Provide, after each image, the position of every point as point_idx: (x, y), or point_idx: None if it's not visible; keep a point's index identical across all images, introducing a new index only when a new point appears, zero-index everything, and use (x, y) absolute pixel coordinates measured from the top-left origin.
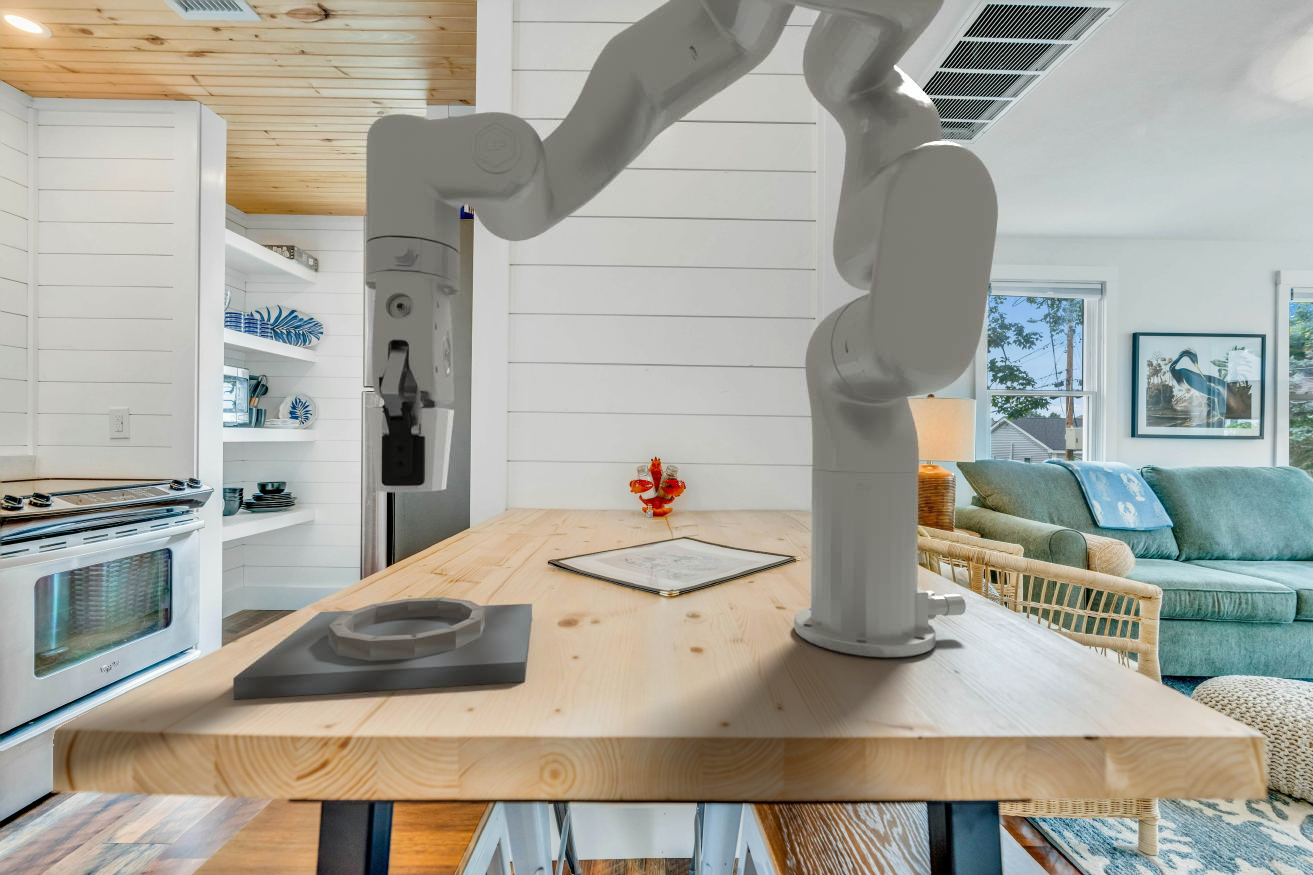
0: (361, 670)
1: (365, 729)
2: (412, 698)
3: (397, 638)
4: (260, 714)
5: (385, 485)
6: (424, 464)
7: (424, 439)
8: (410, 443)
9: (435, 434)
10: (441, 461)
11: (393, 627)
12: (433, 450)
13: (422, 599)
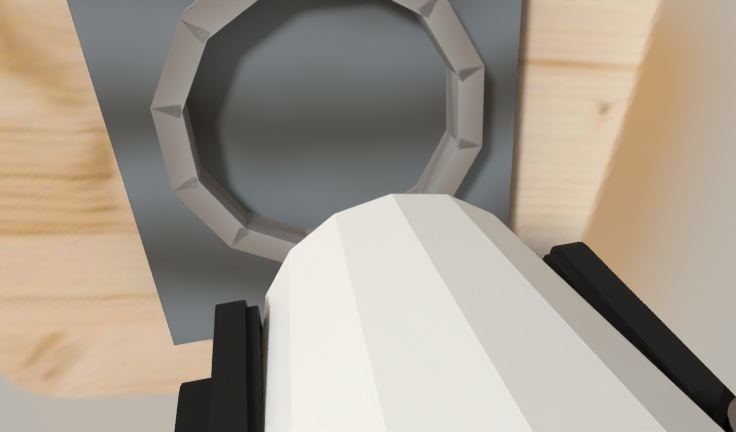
0: (513, 126)
1: (629, 54)
2: (542, 20)
3: (477, 100)
4: (546, 211)
5: None
6: (611, 287)
7: (692, 375)
8: (724, 390)
9: (661, 373)
10: (520, 260)
11: (278, 166)
12: (600, 315)
13: (177, 152)
